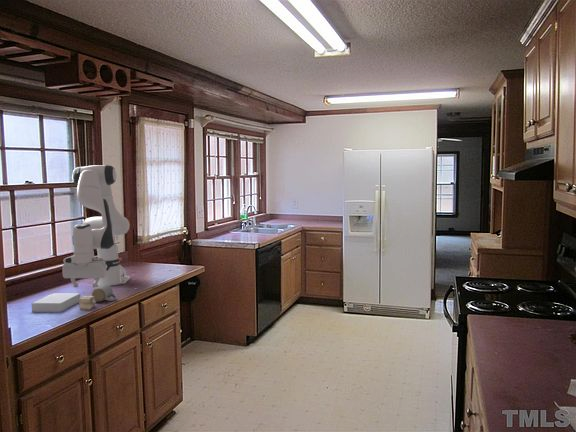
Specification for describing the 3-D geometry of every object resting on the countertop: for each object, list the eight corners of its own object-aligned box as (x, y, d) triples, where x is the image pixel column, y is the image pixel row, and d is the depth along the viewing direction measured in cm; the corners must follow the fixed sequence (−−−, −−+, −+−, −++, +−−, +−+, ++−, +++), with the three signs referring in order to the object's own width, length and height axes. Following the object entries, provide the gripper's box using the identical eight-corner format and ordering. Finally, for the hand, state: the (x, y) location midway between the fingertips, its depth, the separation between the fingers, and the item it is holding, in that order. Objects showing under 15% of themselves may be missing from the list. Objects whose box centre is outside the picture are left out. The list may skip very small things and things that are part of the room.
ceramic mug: (91, 302, 235) (90, 287, 234) (99, 298, 243) (98, 283, 242) (111, 303, 234) (111, 287, 233) (119, 298, 242) (118, 283, 241)
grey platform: (53, 300, 239) (53, 293, 238) (80, 301, 238) (80, 293, 237) (32, 311, 221) (31, 303, 220) (61, 311, 220) (60, 303, 219)
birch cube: (84, 306, 229) (84, 296, 228) (94, 306, 229) (94, 296, 228) (79, 309, 224) (78, 298, 223) (89, 309, 224) (89, 298, 223)
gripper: (108, 257, 226) (109, 285, 227) (67, 257, 228) (68, 285, 229) (102, 259, 220) (103, 288, 221) (59, 259, 221) (61, 288, 222)
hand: (85, 287), depth 225 cm, fingers open, 8 cm apart
